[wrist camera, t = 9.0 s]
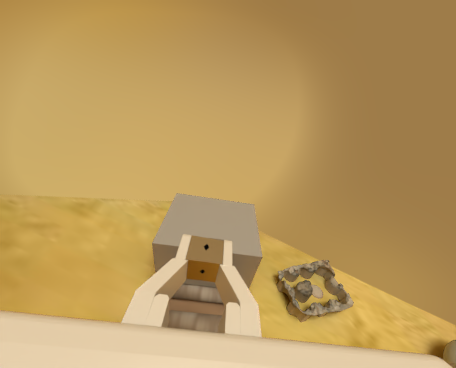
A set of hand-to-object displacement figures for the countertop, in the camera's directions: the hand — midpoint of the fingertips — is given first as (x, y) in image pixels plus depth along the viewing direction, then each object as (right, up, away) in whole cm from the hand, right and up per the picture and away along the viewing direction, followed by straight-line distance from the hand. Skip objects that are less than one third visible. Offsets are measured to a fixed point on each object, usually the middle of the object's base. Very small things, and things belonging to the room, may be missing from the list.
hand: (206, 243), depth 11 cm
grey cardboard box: (-2, -8, +18) cm, 20 cm away
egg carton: (+15, -15, +19) cm, 29 cm away
